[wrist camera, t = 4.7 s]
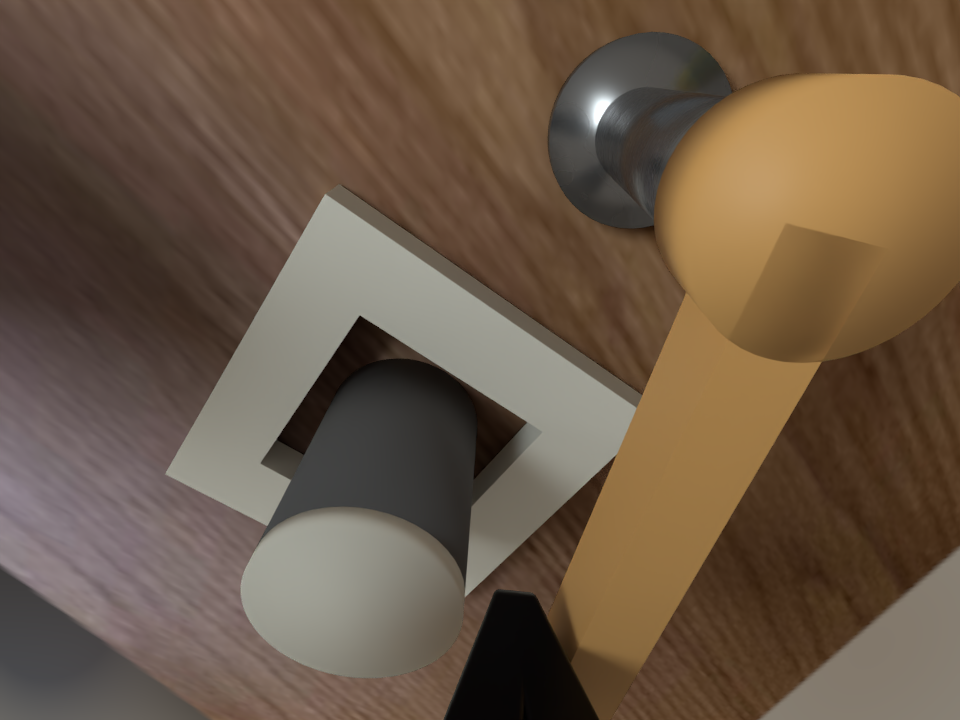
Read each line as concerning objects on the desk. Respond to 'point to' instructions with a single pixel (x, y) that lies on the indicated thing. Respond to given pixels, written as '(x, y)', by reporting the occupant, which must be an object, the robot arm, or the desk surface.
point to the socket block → (434, 334)
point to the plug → (372, 529)
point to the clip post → (628, 122)
